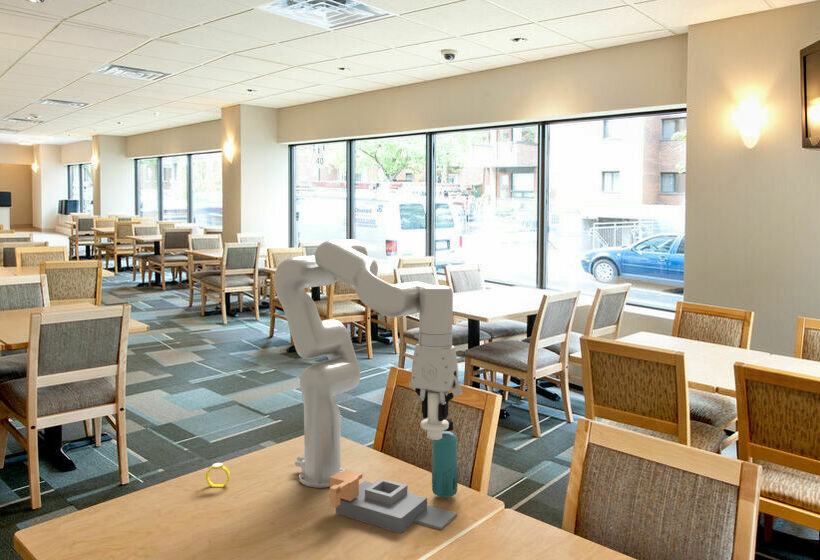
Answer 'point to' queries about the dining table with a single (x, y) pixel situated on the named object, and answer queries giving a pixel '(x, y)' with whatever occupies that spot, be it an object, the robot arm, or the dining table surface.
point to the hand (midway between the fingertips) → (434, 417)
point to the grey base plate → (384, 505)
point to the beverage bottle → (445, 464)
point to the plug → (434, 417)
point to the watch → (218, 466)
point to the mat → (435, 517)
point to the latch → (344, 486)
